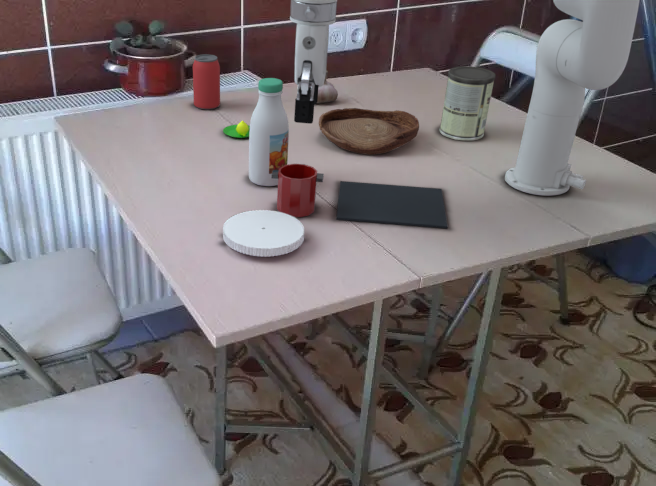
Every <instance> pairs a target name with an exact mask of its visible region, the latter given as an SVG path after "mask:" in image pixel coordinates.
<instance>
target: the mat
mask: <svg viewBox="0 0 656 486" xmlns="http://www.w3.org/2000/svg"><path fill="white" fill-rule="evenodd" d="M336 220H337V221H349V222H359V223H361V222H363V223H372V224H373V223H375V224H385V225H396V226H397V225H398V226H410V227H411V226H412V227H423V228H435V229H437V228H438V229H448V220H447V214H446V208H445V201H444V196H443V189H442V188H437V187H425V186H424V187H423V186H411V185H396V184H384V183H382V184H381V183H368V182H360V181H359V182H357V181H345V180H340V181H339V191H338V200H337V211H336Z"/></svg>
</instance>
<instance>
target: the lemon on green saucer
mask: <svg viewBox="0 0 656 486" xmlns="http://www.w3.org/2000/svg"><path fill="white" fill-rule="evenodd" d="M222 132H223V134H225V135H227V136H229V137H231V138H234V139H235V138H236V139H246V138H247V139H248V138H249V132H250V124H249V125H248V124H247V122H246V121H244V120H241V121H240V122H238V124H231V125H228V126H225V127H224V128H223V129H222Z"/></svg>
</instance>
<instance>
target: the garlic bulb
mask: <svg viewBox="0 0 656 486" xmlns="http://www.w3.org/2000/svg"><path fill="white" fill-rule="evenodd" d="M328 73H329V71H328V70H326V76H325V80H324V84H323V85H322V86H321V87H319V88H318V101H317V104H323V103H330V102H335V101H336V100H337V99H338V97H339V92H338V90H337V89H336V87H335V86H334V83H333V84H332V83H331V82H330V81H327V80H328V79H327V78H328Z"/></svg>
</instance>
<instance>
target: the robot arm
mask: <svg viewBox="0 0 656 486" xmlns="http://www.w3.org/2000/svg"><path fill="white" fill-rule="evenodd" d="M552 1H553V5H554V6H555V7H556V8H557V10H559V11H561V12H562V13H565V14H566V15H569V16H571V17H573V18H575V19H569V18H567V19H561V20H558V21H555V22H554V23H551V24H550V25H549V26H548V27H546V29H545V30H544V31H543V33H542V34H541V36H540V38H539V40H538V43H537V47H536V52H535V73H534V74H535V75H534V81H533V88H532V93H531V96H530V97H531V98H530V102H529V106H528V109H527V115H526V117H525V123H524V127H523V131H522V137H521V141H520V145H519V150H518V153H517V158H516V162H515V166H513V167H511V168H509V169H508V170H507V171H506V172H505V175H504V180H505V182H506V183H507V185H509V186H510V187H512V188H513V189H515V190H517V191H519V192H523V193H526V194H530V195H536V196H543V197H544V196H545V197H547V196H548V197H549V196H550V197H551V196H559V195H563V194H565V193H566V192H569V189H570V187H573V188H576V189H580V190H584V188H585V186H586V184H587V179H584V175H583V174H579V173H574V172H573V171H572V170H571V168H572V164H571V163H569V161H570V156H571V152H572V148H573V144H574V140H575V137H576V133H577V130H578V126H579V122H580V119H581V115H582V113H583V109H584V104H585V99H586V90H590V91H601V90H605V89H607V88H609V87H611V86H612V85H614V84H615V83H616V82H617V81H618V80H619V79H620V77H621V76H622V74H623V72H624V70H625V68H626V66H627V64H628V61H629V56H630V53H631V47H632V42H633V38H634V33H635V28H636V23H637V16H638V12H639V8H640V0H552ZM337 7H338V0H290V10H289V11H290V12H289V21H291V22H292V23H295V24H296V28H295V46H294V47H295V48H294V83H295V85H297V89H296V90H297V91H296V92H297V93H296V98H295V102H294V115H293V116H294V117H293V121H294V123H298V124H313V122H314V114H315V106H316V105H317V104H318V103H317V101H318V88H319V87H321V86H322V85H323V84H324V80H325V76H326V71H327V63H328V50H329V38H330V25H333V24H335V23H336V20H337V19H336V18H337Z"/></svg>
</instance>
